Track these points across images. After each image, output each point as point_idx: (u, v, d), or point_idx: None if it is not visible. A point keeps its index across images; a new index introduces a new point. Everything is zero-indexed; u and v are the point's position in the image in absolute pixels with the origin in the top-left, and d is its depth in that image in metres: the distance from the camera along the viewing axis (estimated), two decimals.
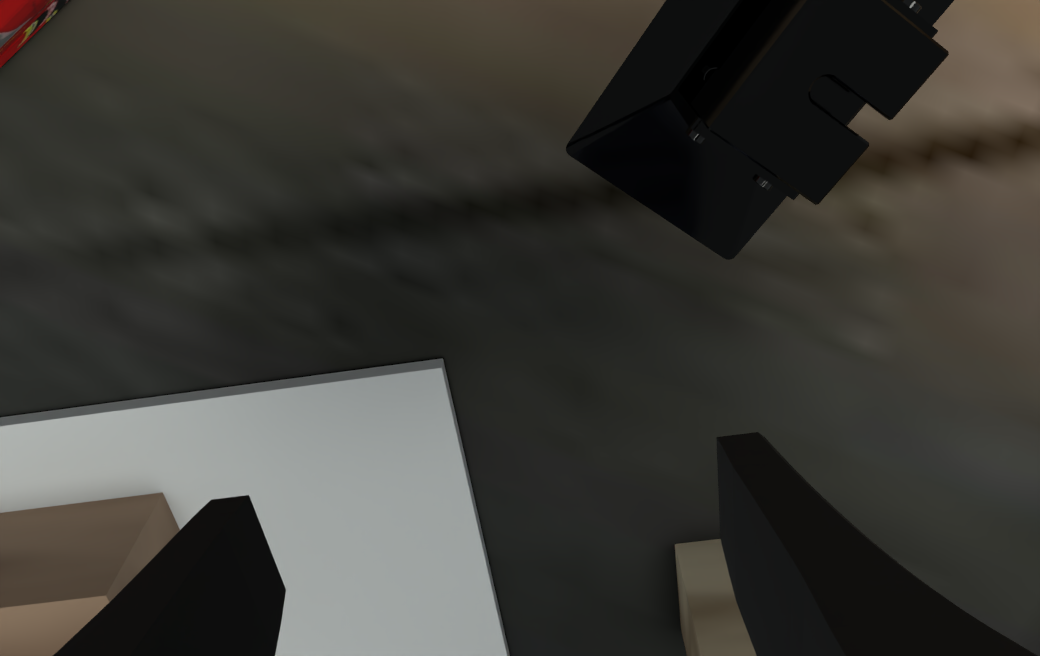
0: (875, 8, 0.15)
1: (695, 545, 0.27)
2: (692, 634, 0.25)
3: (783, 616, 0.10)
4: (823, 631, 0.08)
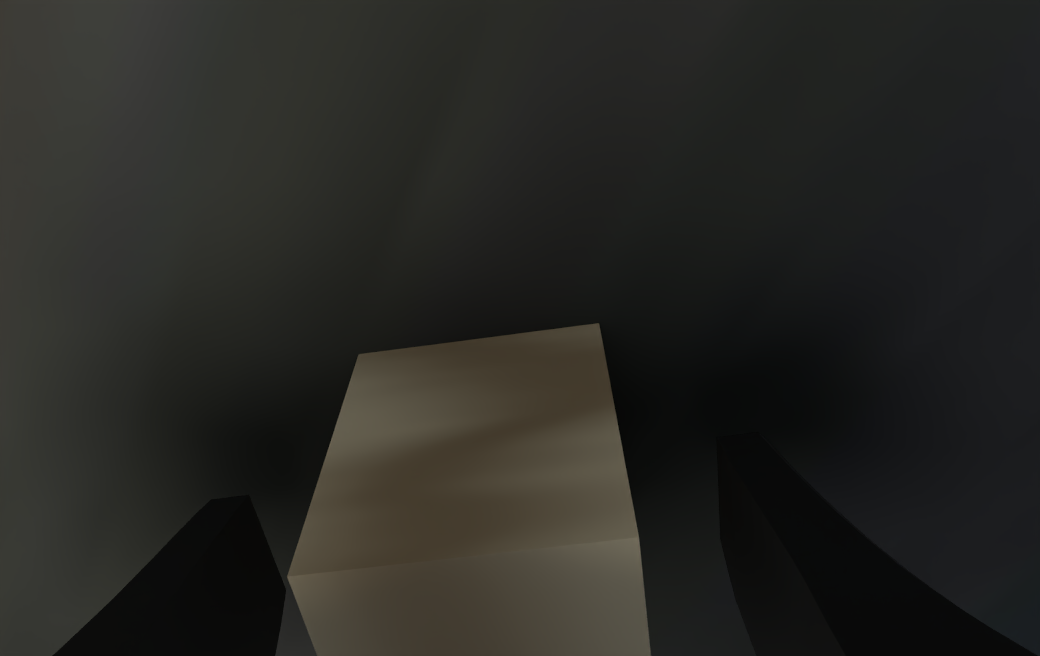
0: None
1: None
2: None
3: (784, 616, 0.10)
4: (823, 631, 0.08)
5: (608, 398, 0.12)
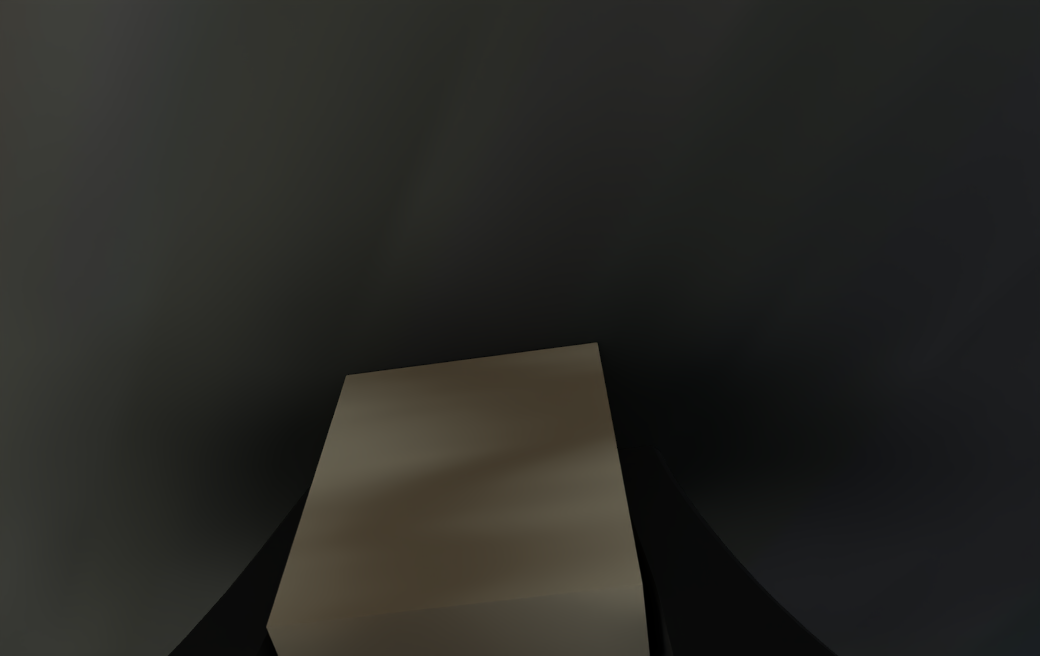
0: None
1: None
2: None
3: (654, 629, 0.10)
4: (669, 648, 0.08)
5: (607, 426, 0.11)
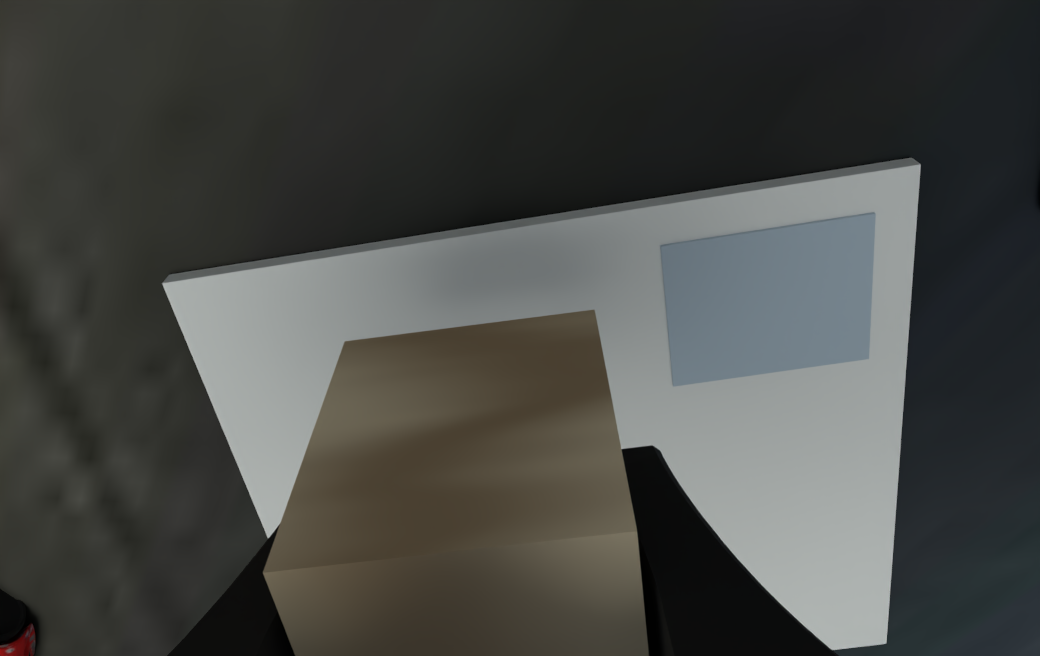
0: None
1: None
2: None
3: (655, 629, 0.10)
4: (670, 648, 0.08)
5: (604, 387, 0.11)
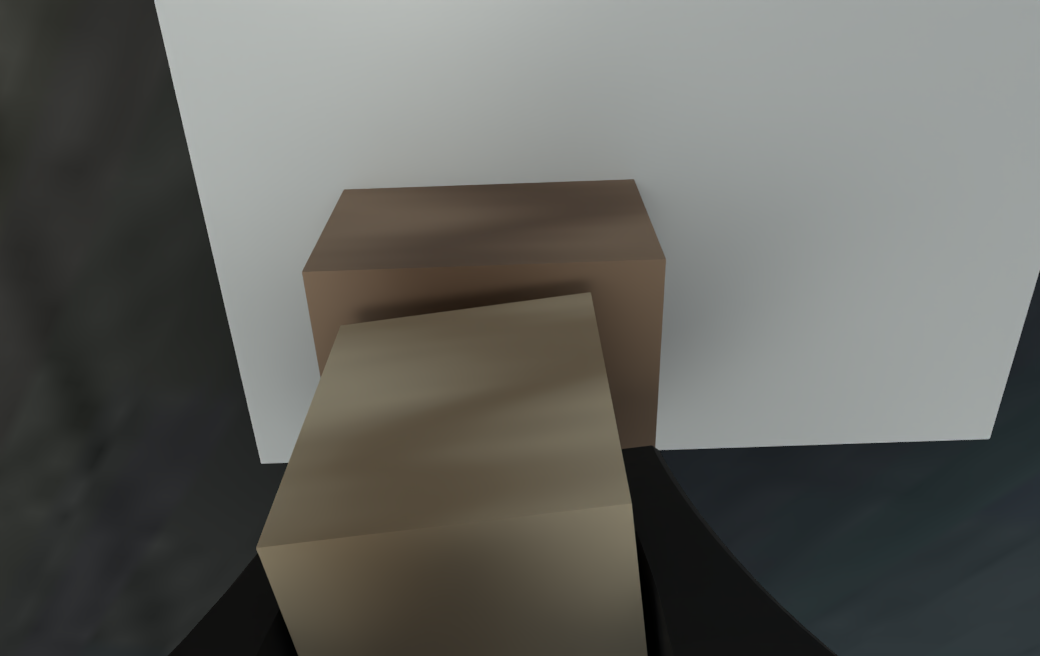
0: None
1: None
2: None
3: (654, 630, 0.10)
4: (669, 648, 0.08)
5: (599, 366, 0.11)
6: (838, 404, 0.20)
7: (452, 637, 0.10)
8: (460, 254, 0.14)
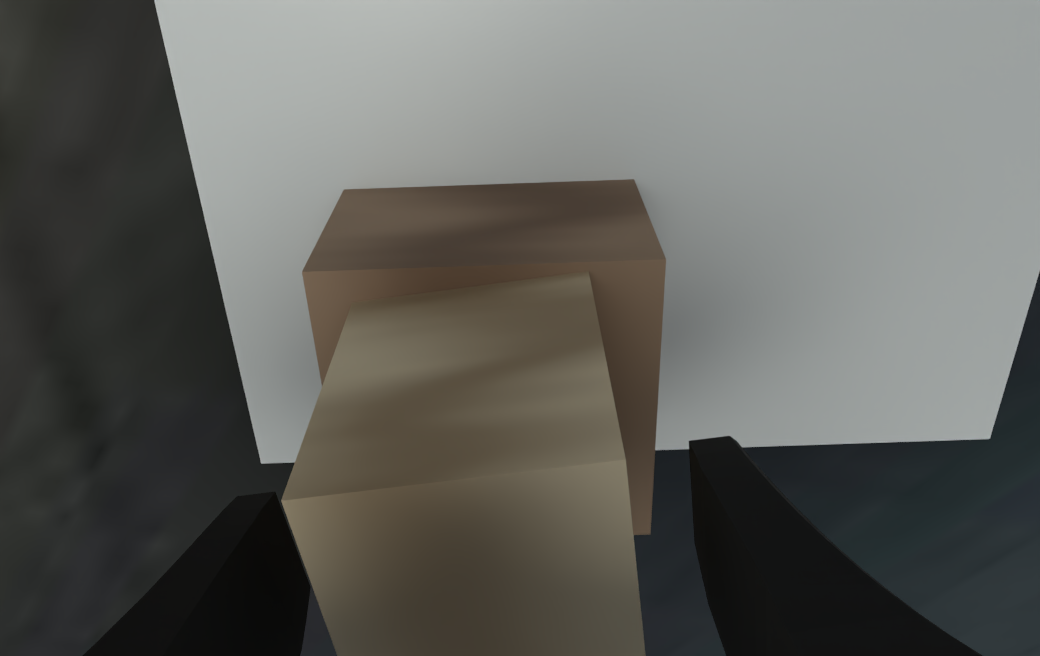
0: None
1: None
2: None
3: (749, 619, 0.10)
4: (782, 636, 0.08)
5: (596, 338, 0.12)
6: (838, 404, 0.20)
7: (461, 585, 0.10)
8: (461, 253, 0.14)
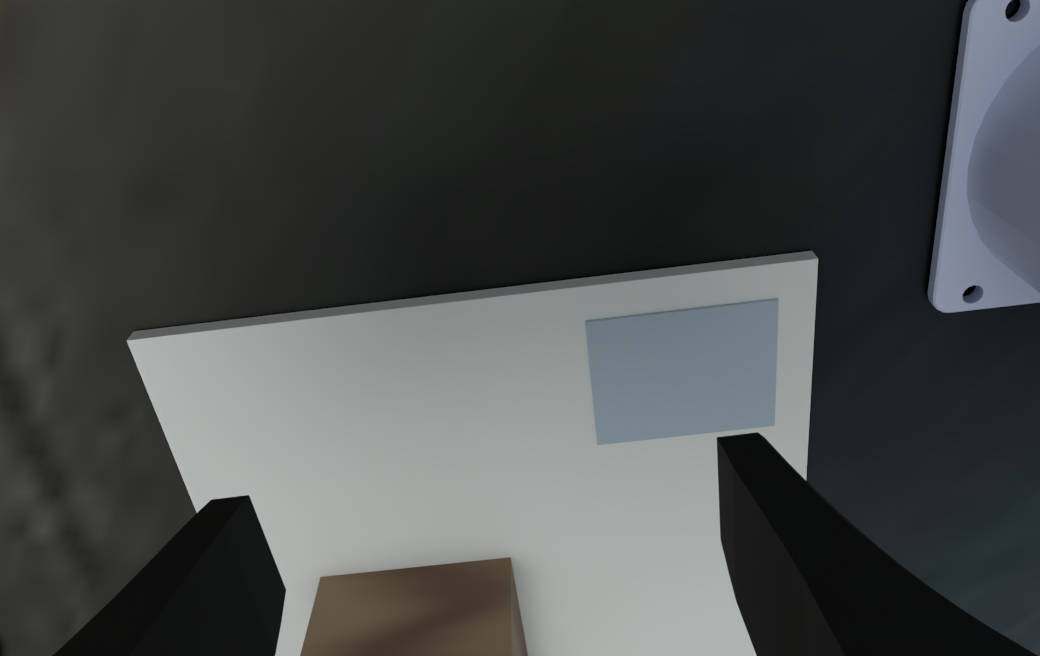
0: None
1: None
2: None
3: (784, 615, 0.10)
4: (823, 631, 0.08)
5: None
6: None
7: None
8: None
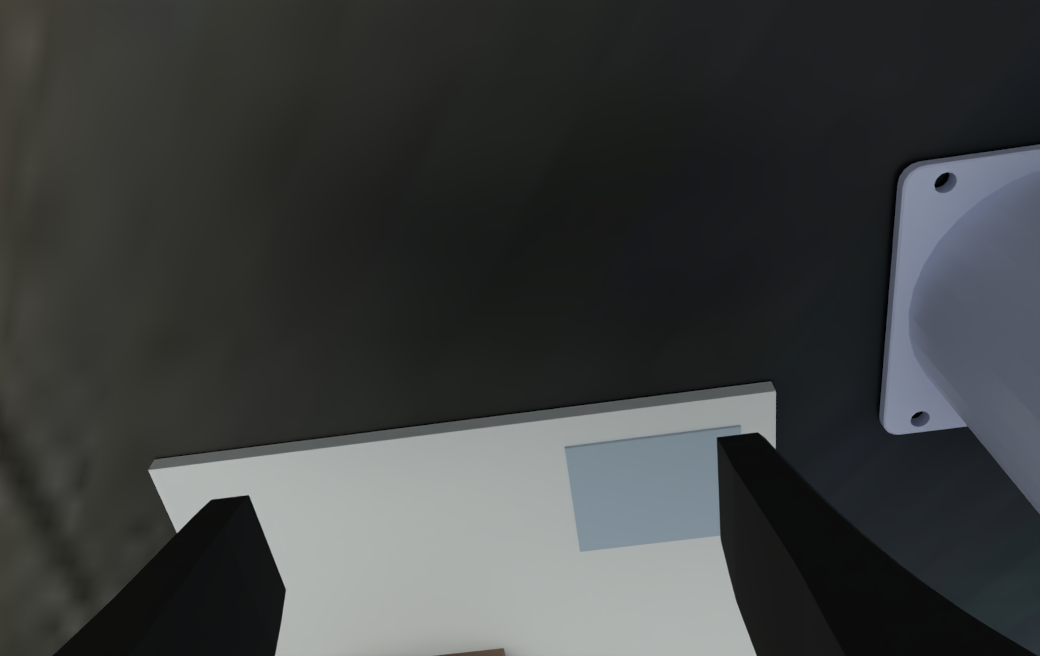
0: None
1: None
2: None
3: (784, 616, 0.10)
4: (823, 631, 0.08)
5: None
6: None
7: None
8: None
